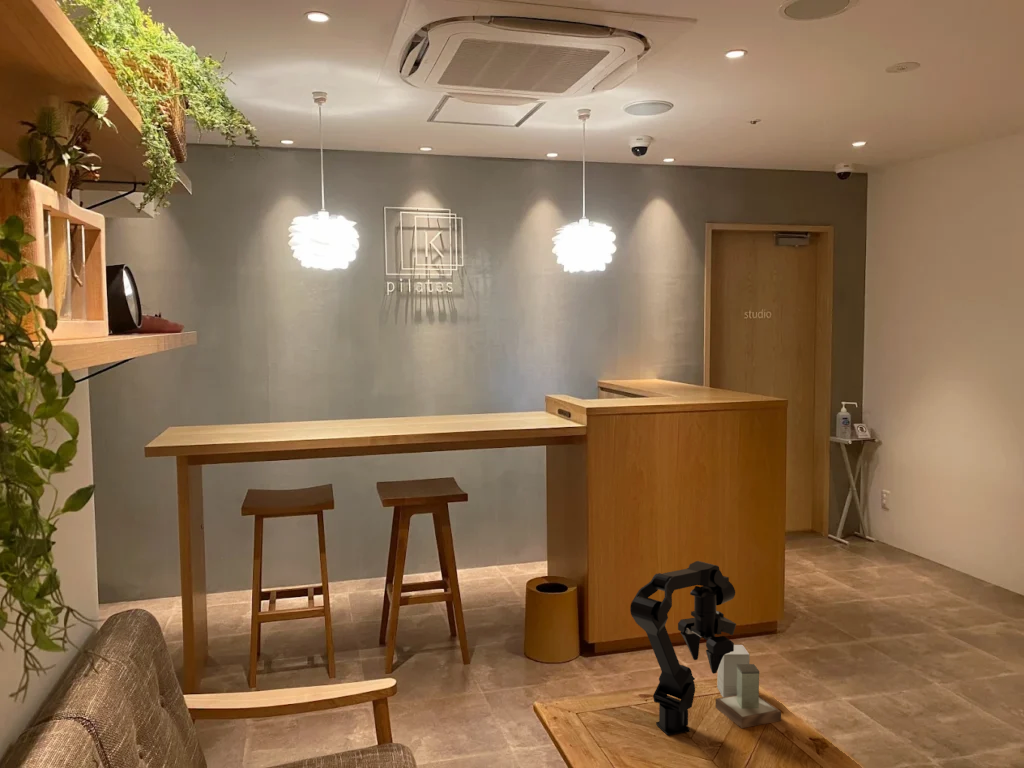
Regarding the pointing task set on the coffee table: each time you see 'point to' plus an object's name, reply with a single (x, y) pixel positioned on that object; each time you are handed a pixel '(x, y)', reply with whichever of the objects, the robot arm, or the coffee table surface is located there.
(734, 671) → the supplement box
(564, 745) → the coffee table surface
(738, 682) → the olive grey square block
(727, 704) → the brown framed square mirror
